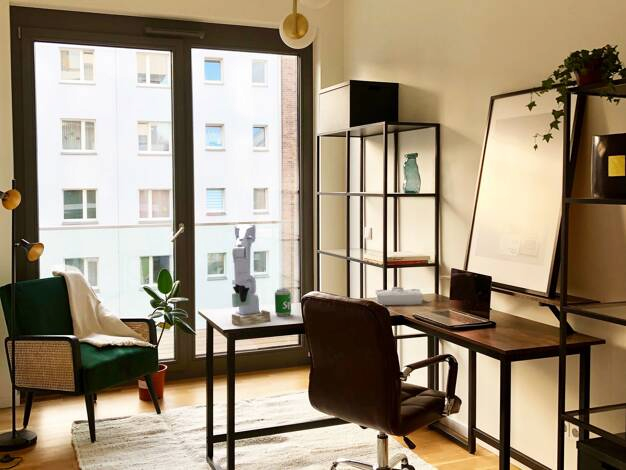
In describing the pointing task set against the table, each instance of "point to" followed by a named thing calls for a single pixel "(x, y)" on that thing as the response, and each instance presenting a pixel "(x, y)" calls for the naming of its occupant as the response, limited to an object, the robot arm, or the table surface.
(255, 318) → the track sill
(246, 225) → the robot arm
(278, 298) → the soda can
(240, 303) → the door panel
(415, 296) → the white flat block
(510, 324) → the table surface
